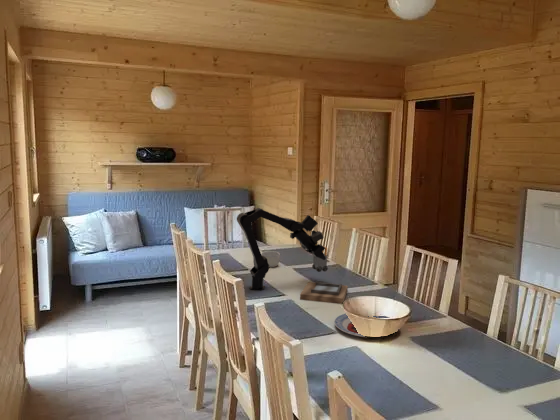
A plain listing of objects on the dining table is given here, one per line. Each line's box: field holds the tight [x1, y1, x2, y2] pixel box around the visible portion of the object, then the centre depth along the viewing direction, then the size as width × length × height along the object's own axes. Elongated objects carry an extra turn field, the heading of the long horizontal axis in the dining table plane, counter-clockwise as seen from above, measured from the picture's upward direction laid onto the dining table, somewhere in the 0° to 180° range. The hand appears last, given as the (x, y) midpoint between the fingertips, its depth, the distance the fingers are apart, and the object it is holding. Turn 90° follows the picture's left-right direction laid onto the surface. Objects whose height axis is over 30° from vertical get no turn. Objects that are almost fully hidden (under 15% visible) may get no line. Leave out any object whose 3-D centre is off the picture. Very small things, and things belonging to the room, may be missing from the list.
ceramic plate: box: [334, 313, 390, 338], centre depth 191 cm, size 26×26×3 cm
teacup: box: [261, 250, 281, 268], centre depth 281 cm, size 14×11×8 cm
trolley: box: [311, 245, 329, 273], centre depth 249 cm, size 6×6×12 cm
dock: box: [299, 281, 349, 304], centre depth 231 cm, size 20×20×4 cm
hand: (322, 257), depth 249 cm, fingers closed on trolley, 6 cm apart
